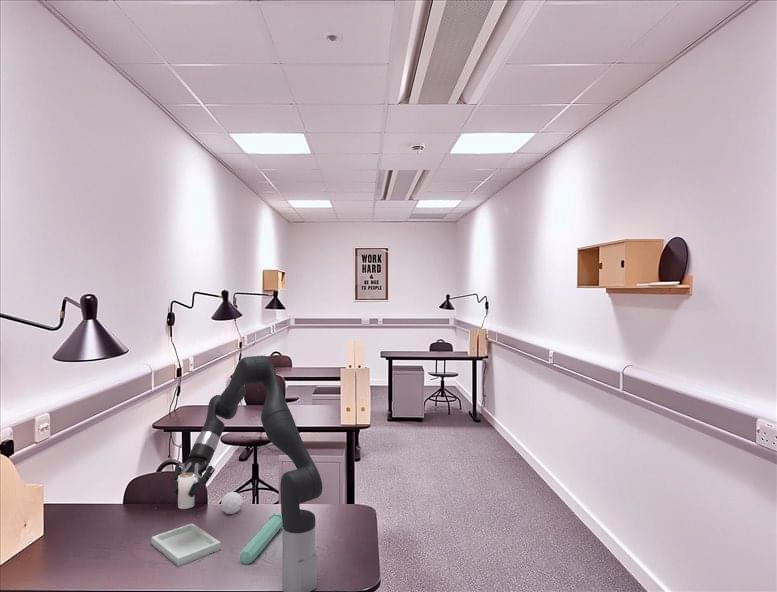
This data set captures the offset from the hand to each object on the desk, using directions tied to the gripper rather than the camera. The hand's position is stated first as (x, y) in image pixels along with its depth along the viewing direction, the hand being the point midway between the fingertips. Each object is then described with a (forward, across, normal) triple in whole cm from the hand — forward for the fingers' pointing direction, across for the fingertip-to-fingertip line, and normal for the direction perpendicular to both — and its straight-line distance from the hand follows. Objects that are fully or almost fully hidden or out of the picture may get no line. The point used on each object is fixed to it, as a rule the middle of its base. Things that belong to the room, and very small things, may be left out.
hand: (182, 495), depth 161 cm
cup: (+2, 0, +4) cm, 5 cm away
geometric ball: (-8, +1, +33) cm, 34 cm away
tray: (+11, 0, +14) cm, 18 cm away
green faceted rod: (+7, +24, +19) cm, 31 cm away
